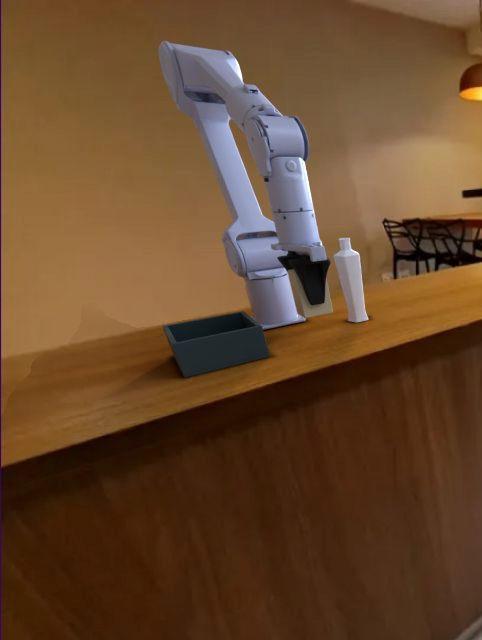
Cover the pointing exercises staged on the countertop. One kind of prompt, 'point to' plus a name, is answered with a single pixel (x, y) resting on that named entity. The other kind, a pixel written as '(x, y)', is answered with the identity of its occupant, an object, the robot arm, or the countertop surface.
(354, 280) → the perfume bottle
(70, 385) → the countertop surface
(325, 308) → the juice carton
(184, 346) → the bin
